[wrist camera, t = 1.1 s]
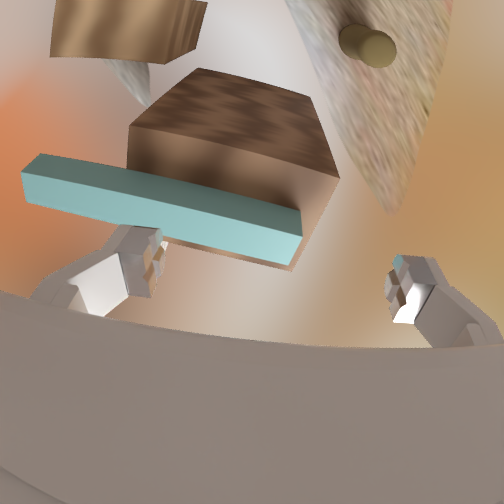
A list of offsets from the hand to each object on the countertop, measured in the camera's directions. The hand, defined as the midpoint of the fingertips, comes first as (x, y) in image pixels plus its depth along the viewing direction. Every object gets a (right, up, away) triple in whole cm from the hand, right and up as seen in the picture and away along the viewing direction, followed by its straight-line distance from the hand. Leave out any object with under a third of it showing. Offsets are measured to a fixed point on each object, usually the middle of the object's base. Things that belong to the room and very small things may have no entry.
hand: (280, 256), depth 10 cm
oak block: (-16, +35, +25) cm, 46 cm away
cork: (+15, +32, +26) cm, 43 cm away
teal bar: (-10, +6, +16) cm, 20 cm away
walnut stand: (-2, +22, +36) cm, 42 cm away
